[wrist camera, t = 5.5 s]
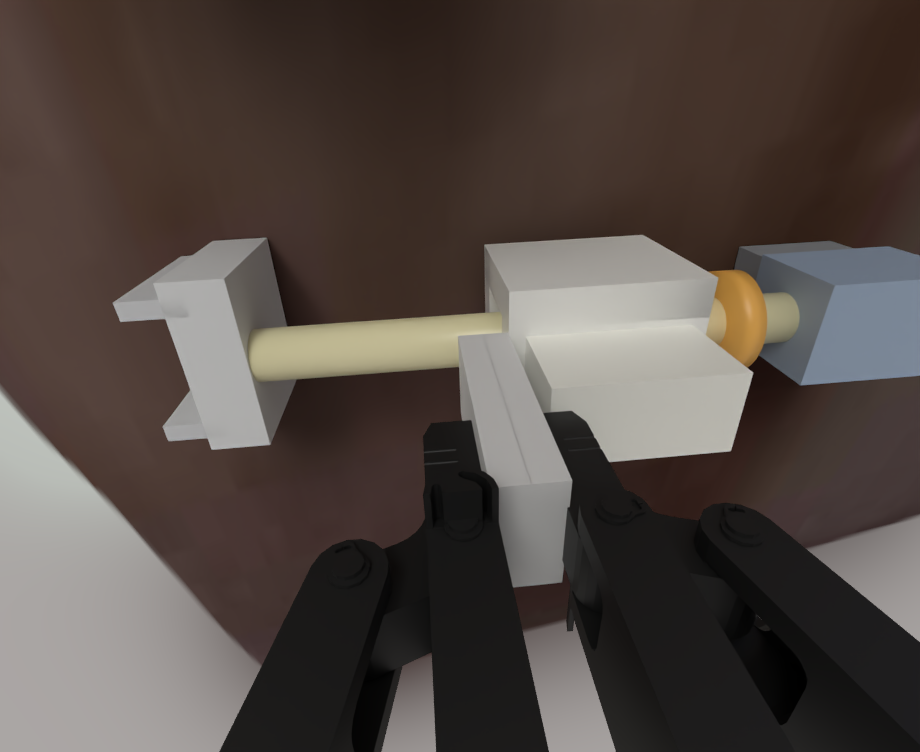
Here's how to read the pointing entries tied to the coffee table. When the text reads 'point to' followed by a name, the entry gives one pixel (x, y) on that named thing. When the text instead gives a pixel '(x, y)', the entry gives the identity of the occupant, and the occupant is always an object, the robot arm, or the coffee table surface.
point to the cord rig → (436, 338)
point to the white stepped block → (620, 342)
